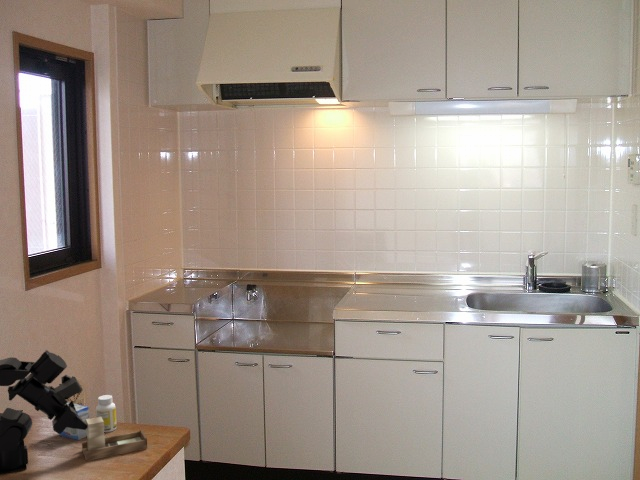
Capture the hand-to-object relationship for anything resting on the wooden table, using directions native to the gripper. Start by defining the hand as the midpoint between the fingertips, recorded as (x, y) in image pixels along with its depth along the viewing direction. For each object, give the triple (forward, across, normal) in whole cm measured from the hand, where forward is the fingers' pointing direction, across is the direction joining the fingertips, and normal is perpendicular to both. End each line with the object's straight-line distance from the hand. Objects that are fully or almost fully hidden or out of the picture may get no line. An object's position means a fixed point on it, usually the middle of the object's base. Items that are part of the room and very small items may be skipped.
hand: (86, 427), depth 182 cm
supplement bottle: (+11, +16, 0) cm, 19 cm away
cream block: (+6, 0, +3) cm, 7 cm away
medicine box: (+4, +16, +7) cm, 18 cm away
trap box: (+10, 0, 0) cm, 10 cm away
